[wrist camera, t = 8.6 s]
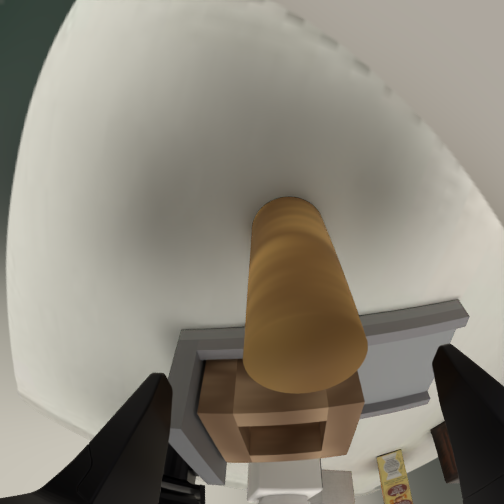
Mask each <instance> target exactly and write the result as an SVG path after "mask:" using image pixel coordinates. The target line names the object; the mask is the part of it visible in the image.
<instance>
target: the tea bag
mask: <svg viewBox="0 0 504 504" xmlns="http://www.w3.org/2000/svg"><path fill="white" fill-rule="evenodd" d="M321 471H322V483H323V490H322V491H321V492H319V493H317V494H316V495H314V496H313V497H311V498H309V499H308V500H307V501H309V502H310V504H354V503H355V497H354V489H353V481H352V473H351V471H334V470H321Z"/></svg>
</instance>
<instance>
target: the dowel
mask: <svg viewBox="0 0 504 504" xmlns="http://www.w3.org/2000/svg"><path fill="white" fill-rule="evenodd" d="M367 351H368V342H367V339H366V336H365V332H364V329H363V326H362V323H361V320H360V318H359V315H358V312H357V309H356V306H355V303H354V300H353V297H352V295H351V292H350V289H349V286H348V284H347V281H346V278H345V275H344V273H343V270H342V267H341V265H340V262H339V260H338V257H337V254H336V252H335V249H334V247H333V244H332V242H331V239H330V237H329V234H328V232H327V229H326V227H325V224H324V222H323V220H322V217H321V215H320V213H319V211H318V210H317V209H316V208H315V207H314V206H313V205H312V204H310V203H309V202H307V201H305V200H303V199H300V198H296V197H282V198H278V199H275V200H272V201H270V202H269V203H267V204H266V205H264V206H263V207H262V208H261V209H260V210H259V211H258V213H257V214H256V216H255V218H254V221H253V225H252V236H251V250H250V264H249V279H248V293H247V307H246V322H245V336H244V351H243V364H244V367H245V370H246V371H247V373H248V375H249V376H250V377H251V378H252V379H253V380H254V381H256V382H257V383H258V384H260V385H262V386H264V387H266V388H268V389H271V390H274V391H278V392H284V393H296V394H300V393H311V392H316V391H321V390H324V389H328V388H330V387H333V386H335V385H337V384H339V383H341V382H343V381H344V380H346V379H348V378H349V377H350V376H352V375H353V374H354V373H355V372H356V371H357V370H358V369H359V368H360V366H361V365H362V363H363V362H364V360H365V358H366V355H367Z"/></svg>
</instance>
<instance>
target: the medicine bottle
mask: <svg viewBox="0 0 504 504" xmlns="http://www.w3.org/2000/svg"><path fill="white" fill-rule="evenodd" d="M322 490H323V483H322V471H321V459H320V458H318V459H309V460H297V461H283V462H258V463H249V464H248V487H247V501H248V502H253V503H258V504H310V502H309V501H307V500H308V499H309V498H311V497H313V496H314V495H316V494H317V493H319V492H321V491H322Z"/></svg>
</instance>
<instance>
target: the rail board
mask: <svg viewBox="0 0 504 504" xmlns="http://www.w3.org/2000/svg"><path fill="white" fill-rule="evenodd" d="M469 317H470V316H469V315H468V313H467V312H466V310H465V309H464V307H463V306H462V304H461V303H460V301H459V300H454V301H448V302H443V303H438V304H433V305H427V306H421V307H416V308H410V309H404V310H397V311H391V312H384V313H377V314H370V315H363V316H359V318H360V320H361V323H362V326H363V329H364V332H365V336H366V339H367V342H368V351H367V355H366V358H365V360H364V362H363V363H362V365H361V366H360V368H359V369H358V370H357V371H358V375H359V379H360V383H361V388H362V392H363V396H364V400H365V403H364V406H363V409H362V412H361V415H360V418H359V419H363V418H368V417H373V416H379V415H383V414H388V413H393V412H397V411H402V410H406V409H410V408H414V407H418V406H421V405H425V404H427V403H428V402H429V400H430V397H429V394H428V389H429V387H430V385H431V383H432V381H433V379H434V373H433V368H432V361H433V358H434V356H435V354H436V351H437V349H438V347H439V346H440V345H444V344H448V343H449V344H450V342H451V340H452V337H453V335H454V332H455V330H456V329H457V328H461V327H465V326H466V324H467V322H468V319H469ZM244 336H245V327H240V328H221V329H198V330H181V333H180V337H179V340H178V344H177V347H176V351H175V354H174V358H173V362H172V365H171V369H170V373H169V377H168V381H169V383H170V385H171V386H172V390H173V397H172V411H171V427H170V436H169V443H170V445H171V446H172V447H173V448H174V449H175V450H176V451H177V453H178V454H179V455H180V456H181V457H182V458H183V459H184V460H185V461H186V462H187V464H188V465H189V466H190V467H191V468H192V469H193V470H194V471H195V472H196V473H197V474H198V475H199V476H200V477H201V478H202V479H203V480H204V481H205V482H206V483H207V484H210V485H225V477H226V465H227V462H226V461H225V459H224V458H223V456H222V455H221V453H220V451H219V450H218V448H217V446H216V445H215V443H214V441H213V440H212V438H211V436H210V435H209V433H208V431H207V430H206V428H205V426H204V424H203V423H202V421H201V419H200V417H199V416H198V414H197V411H198V405H199V399H200V393H201V388H202V382H203V376H204V370H205V365H206V360H215V359H243V351H244Z"/></svg>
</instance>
